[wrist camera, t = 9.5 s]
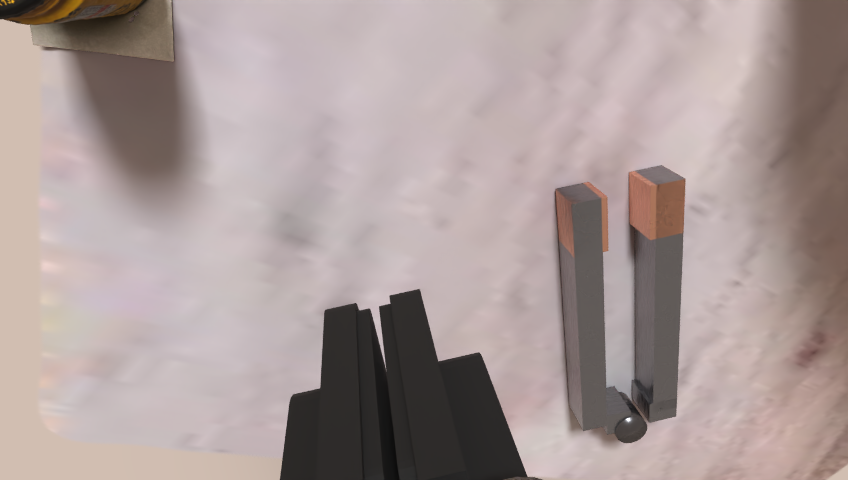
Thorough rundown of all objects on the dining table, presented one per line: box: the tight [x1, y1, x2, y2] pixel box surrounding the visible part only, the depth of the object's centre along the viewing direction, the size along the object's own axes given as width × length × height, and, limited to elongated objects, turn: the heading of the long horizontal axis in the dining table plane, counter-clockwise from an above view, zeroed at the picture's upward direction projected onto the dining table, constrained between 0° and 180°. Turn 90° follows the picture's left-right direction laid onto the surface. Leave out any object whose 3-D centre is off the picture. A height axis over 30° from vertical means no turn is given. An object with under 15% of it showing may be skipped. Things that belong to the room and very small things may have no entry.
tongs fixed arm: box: [629, 165, 685, 423], centre depth 42 cm, size 2×21×3 cm, turn 10°
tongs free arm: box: [556, 182, 647, 443], centre depth 42 cm, size 5×22×3 cm, turn 10°
